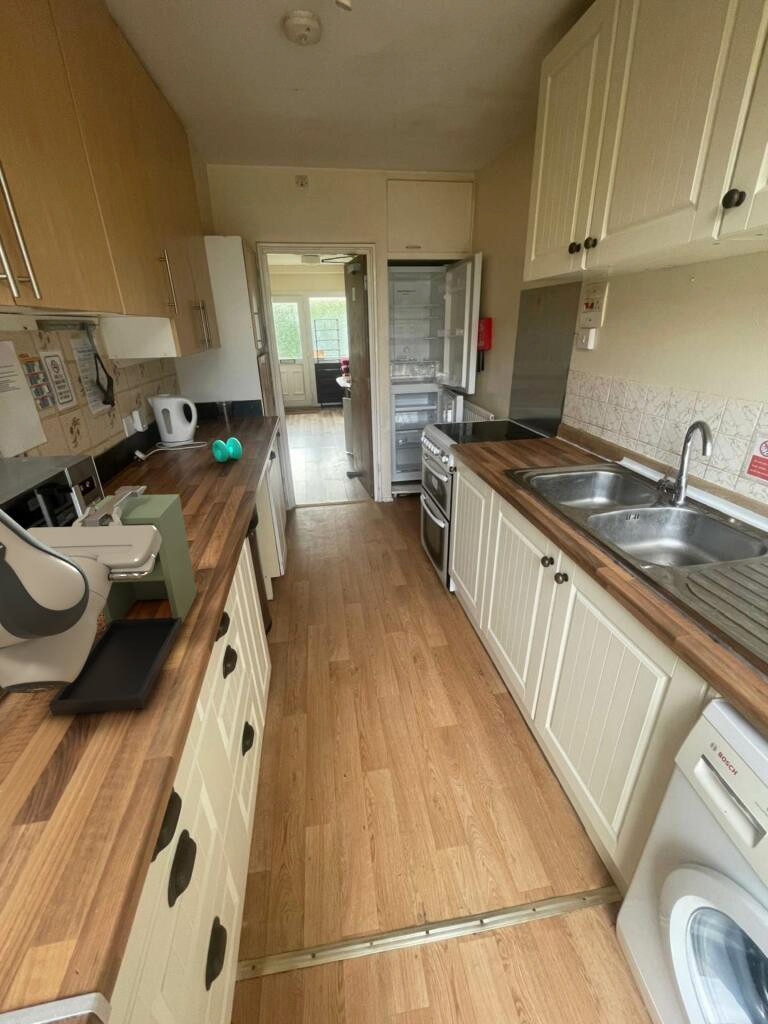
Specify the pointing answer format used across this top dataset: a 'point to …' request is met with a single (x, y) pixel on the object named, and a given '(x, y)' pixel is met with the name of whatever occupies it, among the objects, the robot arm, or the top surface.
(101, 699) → the tray
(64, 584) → the robot arm
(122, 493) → the fork
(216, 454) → the turquoise spool
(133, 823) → the top surface
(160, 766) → the top surface
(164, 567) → the shelf
